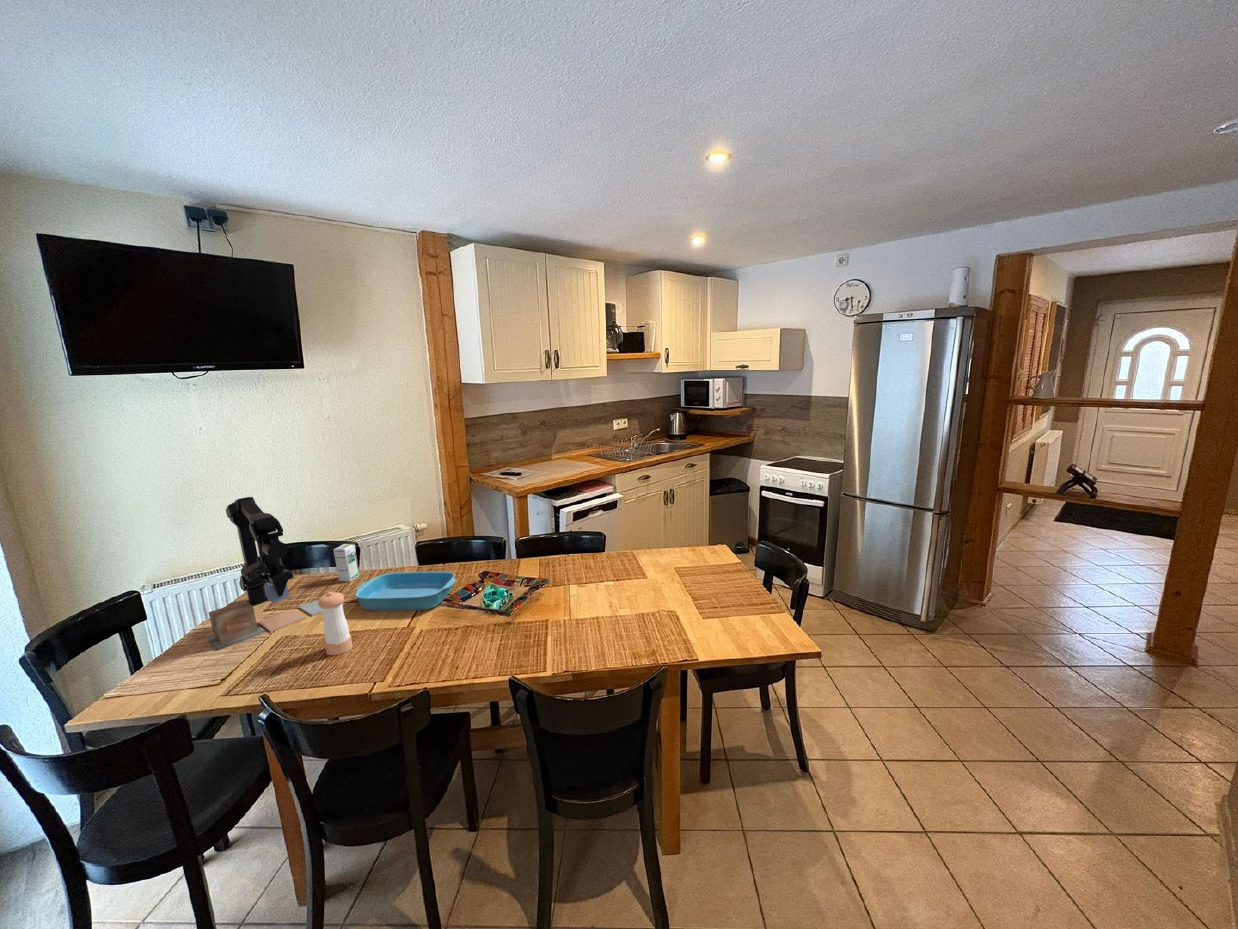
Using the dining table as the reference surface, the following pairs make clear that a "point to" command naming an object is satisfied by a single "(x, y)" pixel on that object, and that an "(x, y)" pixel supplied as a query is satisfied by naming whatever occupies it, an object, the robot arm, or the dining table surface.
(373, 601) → the casserole dish
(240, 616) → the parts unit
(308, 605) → the grey mat
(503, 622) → the dining table surface
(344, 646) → the salt shaker
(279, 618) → the terracotta mat
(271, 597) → the block
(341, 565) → the syrup box
